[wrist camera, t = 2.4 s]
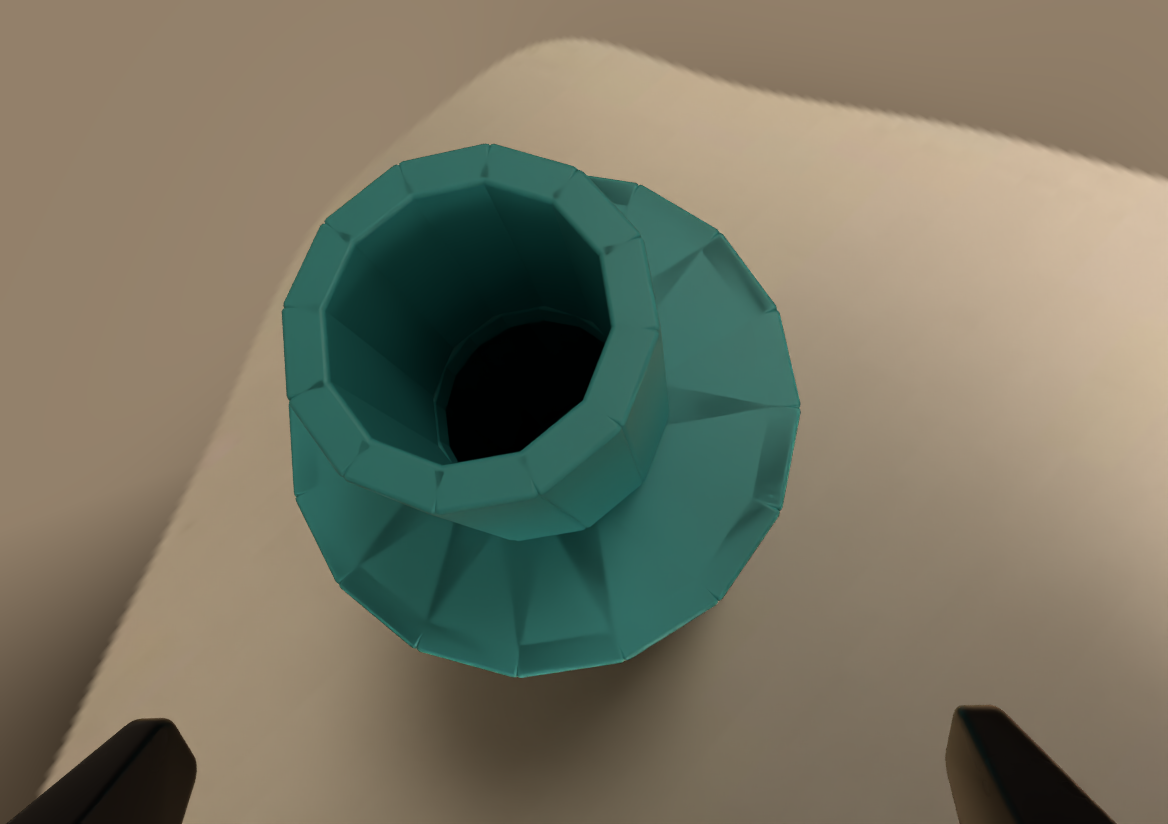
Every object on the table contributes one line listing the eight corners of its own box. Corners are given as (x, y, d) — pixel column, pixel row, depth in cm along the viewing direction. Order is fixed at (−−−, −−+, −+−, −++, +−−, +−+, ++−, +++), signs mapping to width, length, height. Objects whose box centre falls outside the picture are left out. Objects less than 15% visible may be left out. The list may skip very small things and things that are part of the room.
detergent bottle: (761, 610, 19) (941, 645, 5) (513, 649, 20) (119, 767, 6) (712, 370, 20) (757, -67, 7) (484, 412, 21) (118, 81, 8)
